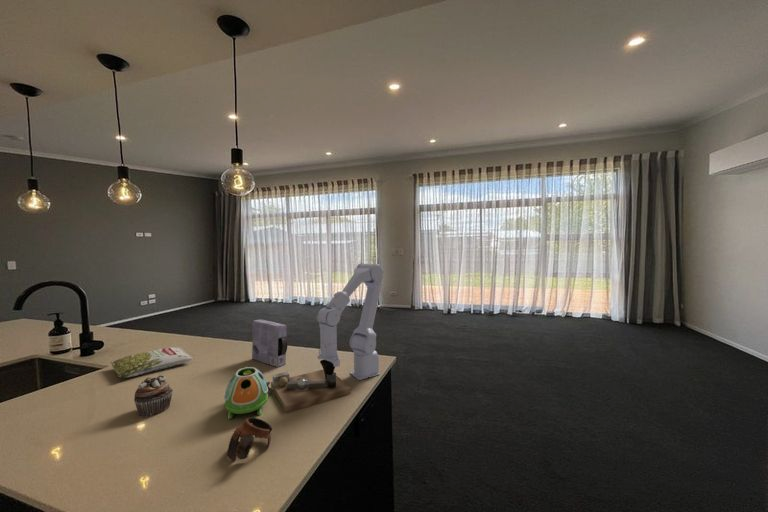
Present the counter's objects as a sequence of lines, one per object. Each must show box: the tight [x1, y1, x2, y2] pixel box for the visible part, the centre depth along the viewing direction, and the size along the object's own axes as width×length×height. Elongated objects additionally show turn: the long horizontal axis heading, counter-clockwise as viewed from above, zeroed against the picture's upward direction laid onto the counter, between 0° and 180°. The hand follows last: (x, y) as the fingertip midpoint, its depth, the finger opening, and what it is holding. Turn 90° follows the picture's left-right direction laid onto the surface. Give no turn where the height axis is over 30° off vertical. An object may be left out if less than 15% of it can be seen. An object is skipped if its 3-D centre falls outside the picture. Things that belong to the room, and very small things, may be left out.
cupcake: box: [133, 375, 174, 418], centre depth 94 cm, size 10×10×10 cm
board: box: [270, 369, 352, 414], centre depth 106 cm, size 22×20×5 cm
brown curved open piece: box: [226, 416, 273, 462], centre depth 74 cm, size 12×10×8 cm
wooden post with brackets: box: [266, 381, 273, 394], centre depth 102 cm, size 2×8×4 cm, turn 122°
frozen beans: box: [110, 346, 194, 378], centre depth 129 cm, size 21×6×25 cm
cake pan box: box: [251, 318, 288, 368], centre depth 133 cm, size 19×5×18 cm, turn 58°
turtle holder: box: [223, 366, 269, 420], centre depth 96 cm, size 12×18×12 cm
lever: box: [287, 371, 337, 390], centre depth 104 cm, size 17×4×4 cm, turn 94°
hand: (329, 380), depth 106 cm, fingers closed
